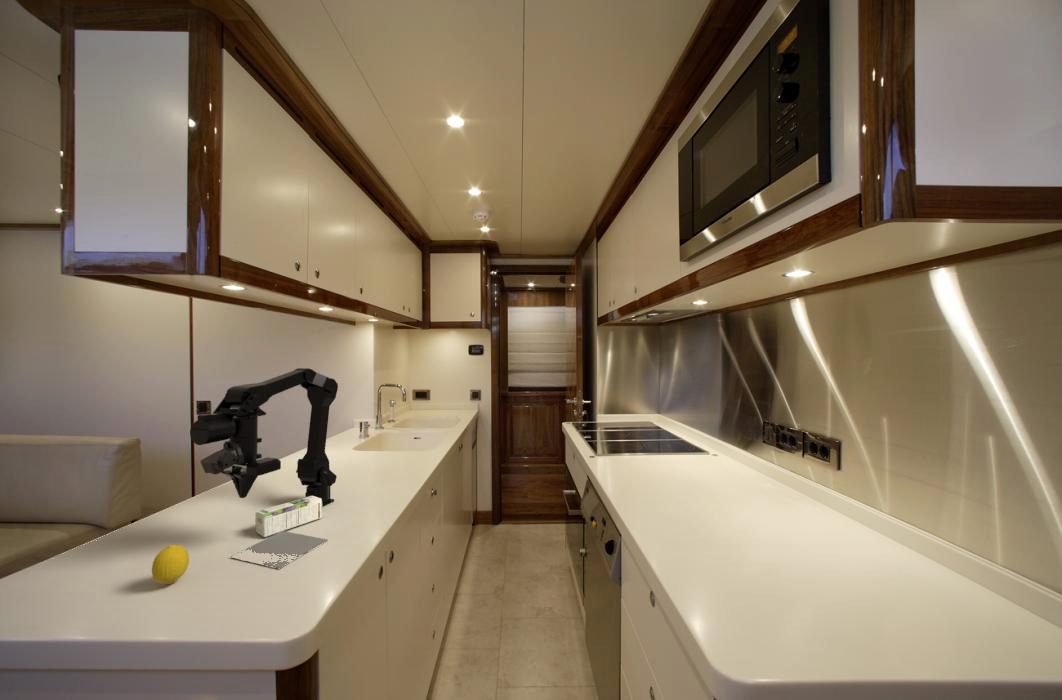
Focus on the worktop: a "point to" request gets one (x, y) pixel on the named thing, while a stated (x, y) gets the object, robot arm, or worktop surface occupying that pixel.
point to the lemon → (170, 564)
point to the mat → (286, 546)
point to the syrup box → (288, 515)
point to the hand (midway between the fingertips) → (242, 497)
